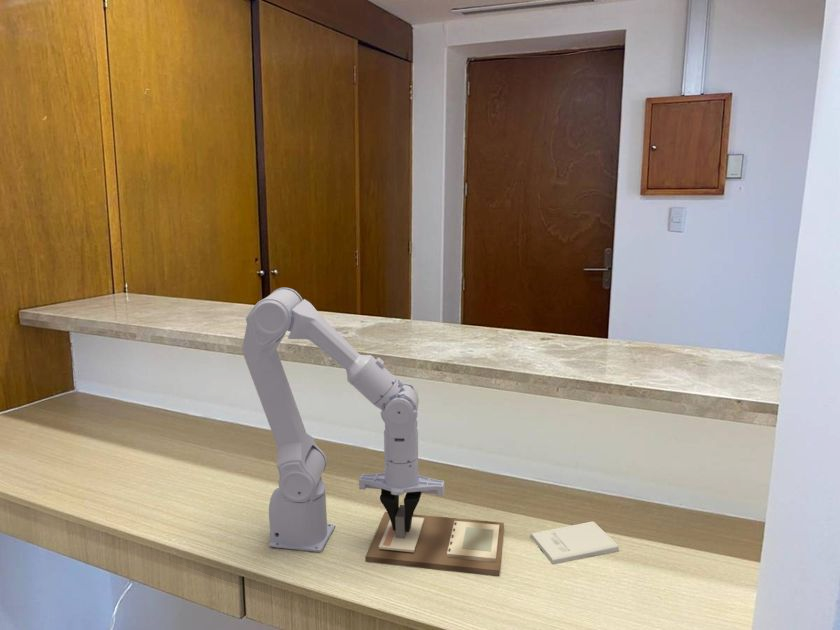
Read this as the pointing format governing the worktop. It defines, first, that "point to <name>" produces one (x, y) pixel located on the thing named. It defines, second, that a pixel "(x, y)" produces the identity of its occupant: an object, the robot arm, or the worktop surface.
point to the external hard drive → (574, 542)
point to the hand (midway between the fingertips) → (402, 528)
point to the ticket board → (446, 546)
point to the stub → (401, 533)
